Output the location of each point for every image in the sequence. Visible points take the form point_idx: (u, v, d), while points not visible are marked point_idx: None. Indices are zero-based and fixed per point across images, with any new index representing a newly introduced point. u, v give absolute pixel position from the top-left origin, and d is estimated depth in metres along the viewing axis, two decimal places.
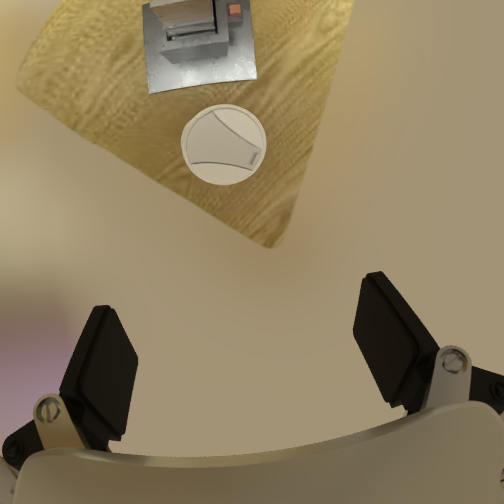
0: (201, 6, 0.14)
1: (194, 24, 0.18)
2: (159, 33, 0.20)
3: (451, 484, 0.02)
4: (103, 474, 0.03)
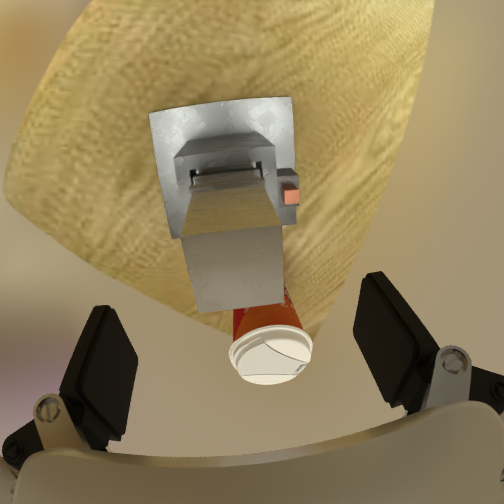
0: None
1: None
2: None
3: (451, 484, 0.02)
4: (103, 474, 0.03)
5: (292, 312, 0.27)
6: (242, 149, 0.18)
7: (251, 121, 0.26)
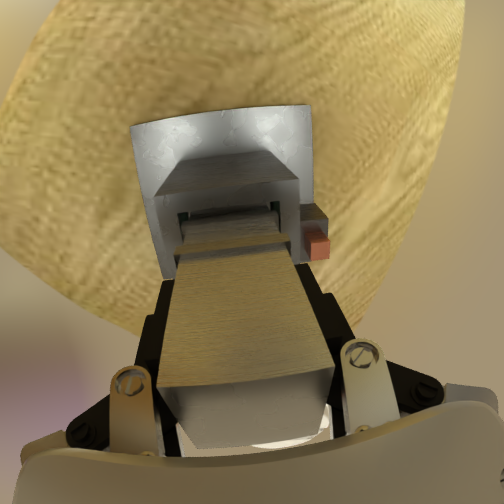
0: None
1: None
2: None
3: (451, 484, 0.02)
4: (103, 474, 0.03)
5: None
6: (252, 184, 0.13)
7: (260, 136, 0.20)
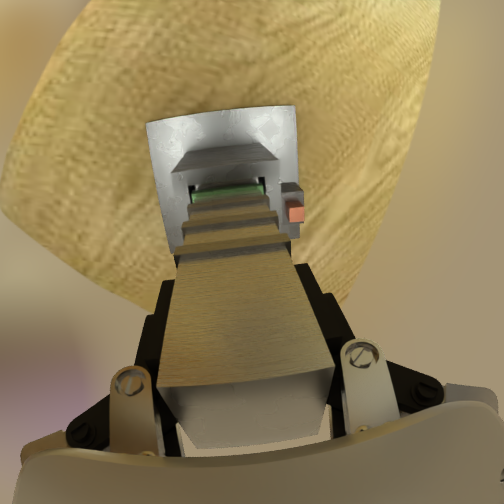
0: None
1: None
2: None
3: (451, 484, 0.02)
4: (103, 474, 0.03)
5: None
6: (244, 163, 0.17)
7: (253, 131, 0.25)
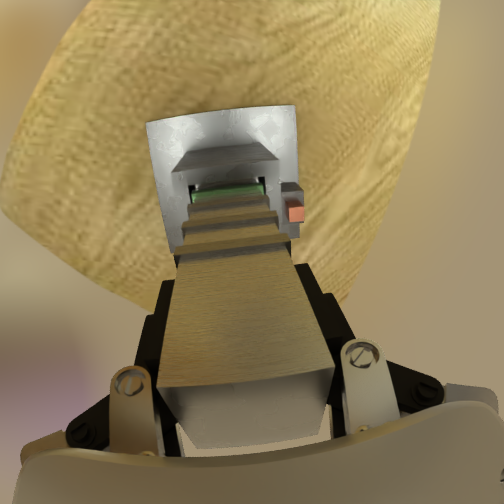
0: None
1: None
2: None
3: (451, 484, 0.02)
4: (103, 474, 0.03)
5: None
6: (244, 163, 0.17)
7: (253, 131, 0.25)
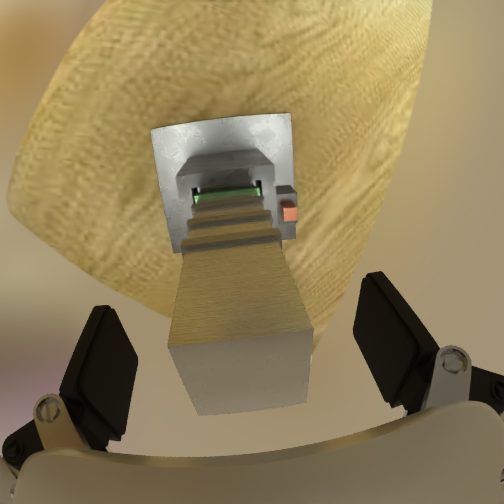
0: None
1: None
2: None
3: (451, 484, 0.02)
4: (103, 474, 0.03)
5: None
6: (242, 168, 0.19)
7: (251, 137, 0.27)
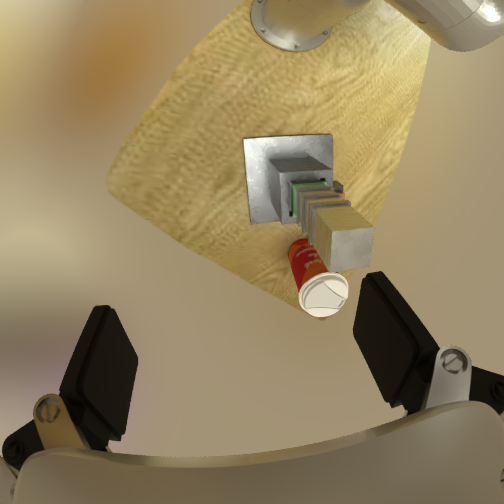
0: None
1: None
2: (283, 209, 0.36)
3: (451, 484, 0.02)
4: (103, 474, 0.03)
5: None
6: (316, 170, 0.34)
7: (308, 149, 0.42)
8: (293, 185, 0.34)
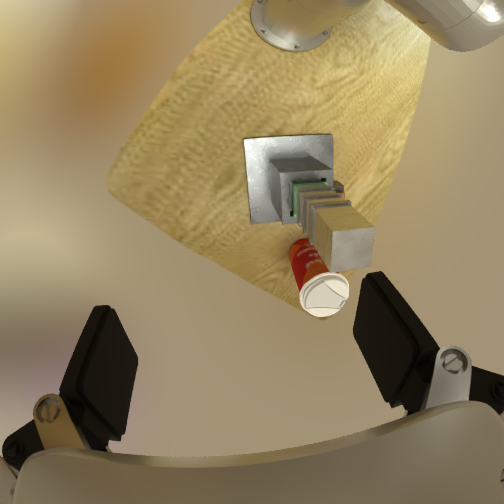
0: None
1: None
2: (284, 209, 0.36)
3: (451, 484, 0.02)
4: (103, 474, 0.03)
5: None
6: (316, 170, 0.34)
7: (308, 149, 0.42)
8: (294, 185, 0.34)
